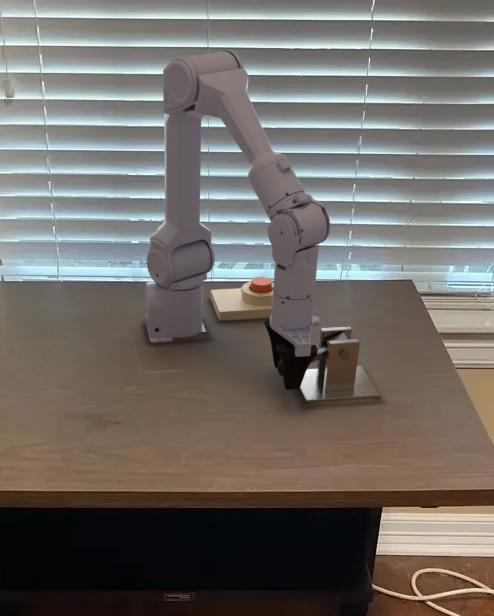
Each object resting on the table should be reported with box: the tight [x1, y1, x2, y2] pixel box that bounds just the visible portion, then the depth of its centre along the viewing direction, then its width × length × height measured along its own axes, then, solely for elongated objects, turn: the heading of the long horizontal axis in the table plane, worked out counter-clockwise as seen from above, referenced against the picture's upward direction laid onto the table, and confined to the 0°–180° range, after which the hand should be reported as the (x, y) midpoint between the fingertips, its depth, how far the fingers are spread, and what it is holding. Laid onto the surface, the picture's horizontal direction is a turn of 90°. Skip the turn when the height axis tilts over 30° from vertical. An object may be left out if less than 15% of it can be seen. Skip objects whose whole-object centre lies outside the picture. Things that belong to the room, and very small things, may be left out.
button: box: [250, 276, 273, 293], centre depth 158 cm, size 4×4×2 cm
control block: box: [209, 281, 274, 322], centre depth 159 cm, size 12×9×4 cm
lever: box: [276, 333, 348, 378], centre depth 134 cm, size 11×3×3 cm, turn 98°
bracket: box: [298, 326, 381, 404], centre depth 135 cm, size 11×9×9 cm
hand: (286, 377), depth 135 cm, fingers open, 6 cm apart
